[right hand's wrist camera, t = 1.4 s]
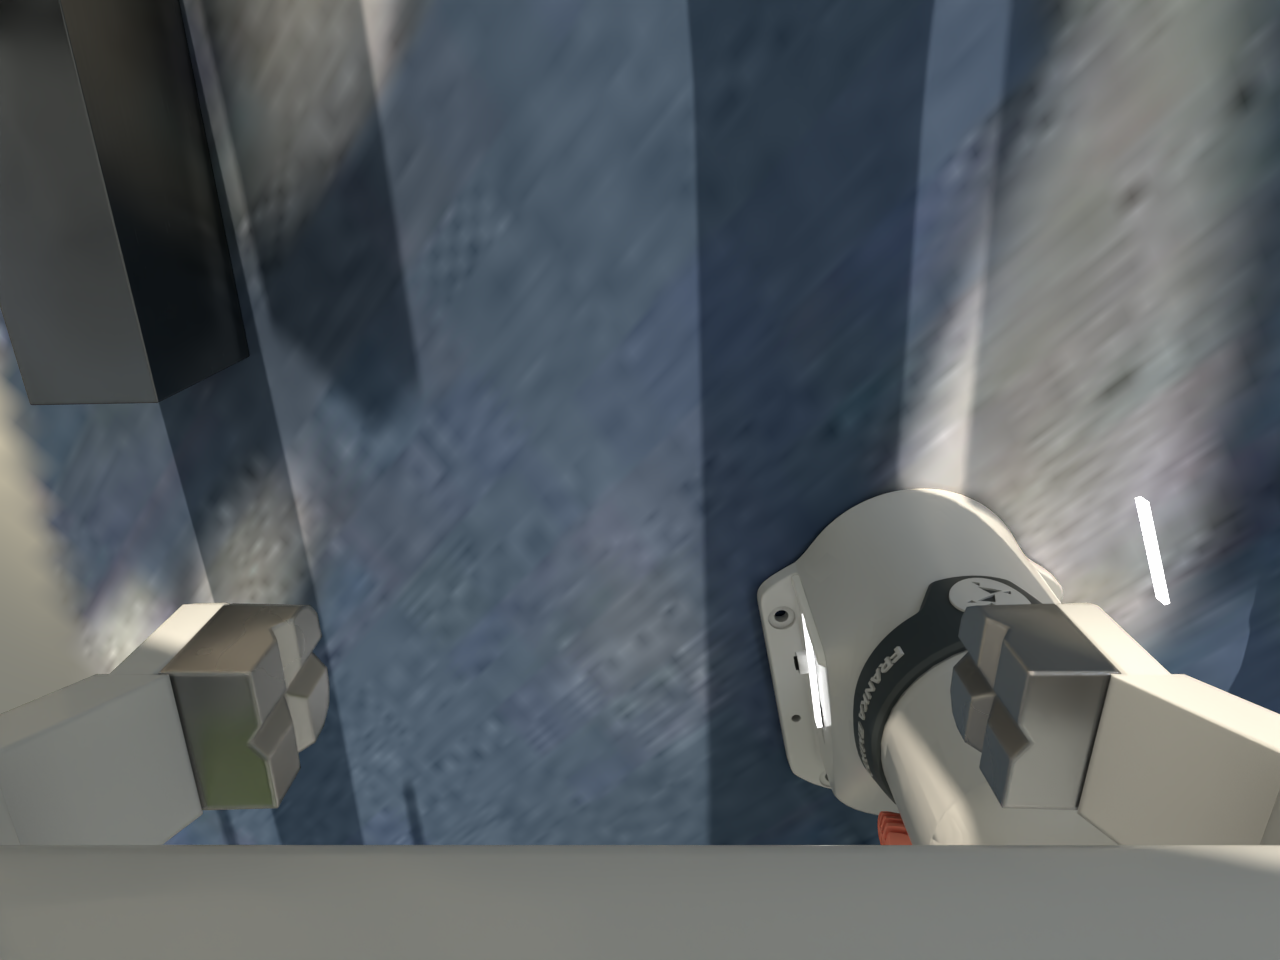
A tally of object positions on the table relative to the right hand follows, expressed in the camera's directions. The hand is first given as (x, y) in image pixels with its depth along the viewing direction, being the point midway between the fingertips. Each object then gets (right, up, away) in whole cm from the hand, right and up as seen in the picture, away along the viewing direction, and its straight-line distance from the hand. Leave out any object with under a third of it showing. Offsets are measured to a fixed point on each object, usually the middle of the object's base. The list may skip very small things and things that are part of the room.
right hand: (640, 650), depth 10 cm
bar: (-25, +19, +31) cm, 45 cm away
